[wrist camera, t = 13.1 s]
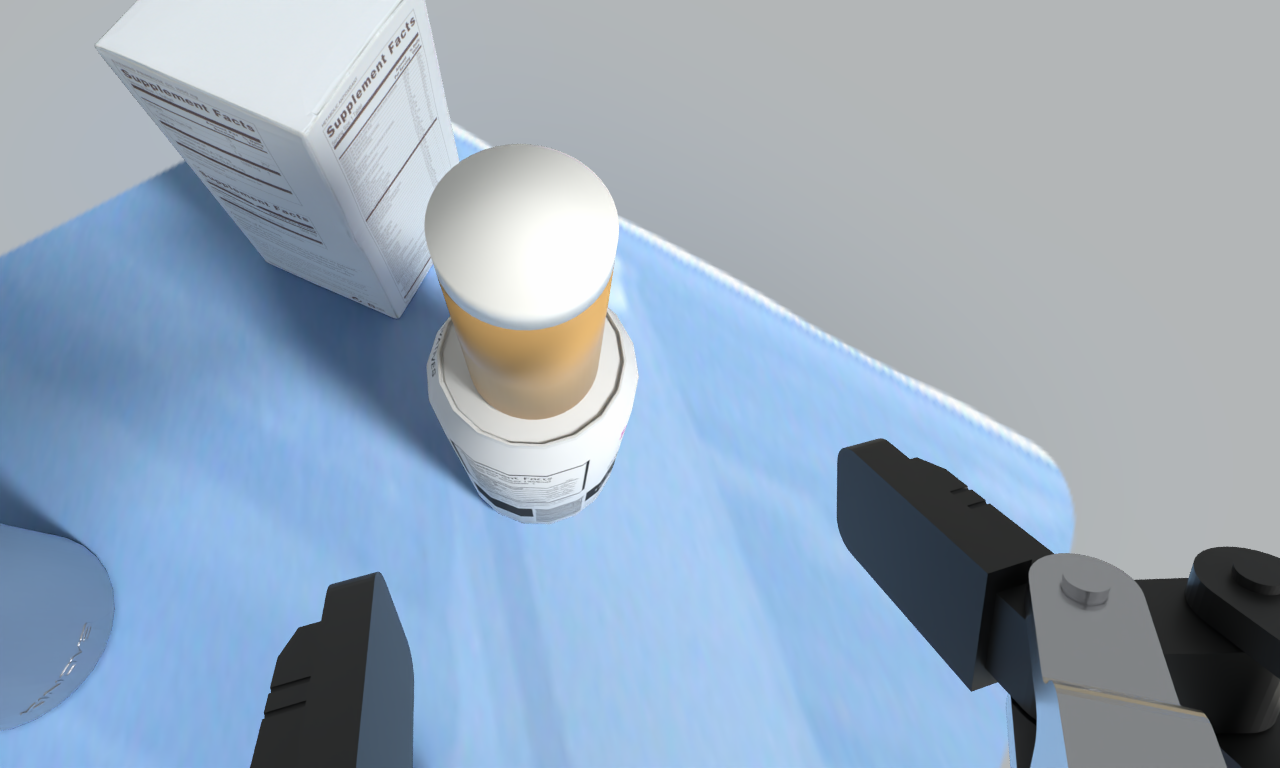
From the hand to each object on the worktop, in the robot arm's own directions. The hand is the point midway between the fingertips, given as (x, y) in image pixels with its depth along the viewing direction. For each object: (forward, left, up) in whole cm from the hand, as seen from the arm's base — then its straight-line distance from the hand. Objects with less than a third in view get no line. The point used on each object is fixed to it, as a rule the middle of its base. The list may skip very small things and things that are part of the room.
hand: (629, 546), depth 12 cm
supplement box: (-22, +15, -27) cm, 38 cm away
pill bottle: (-6, +7, -12) cm, 15 cm away
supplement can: (-6, +7, -27) cm, 29 cm away
